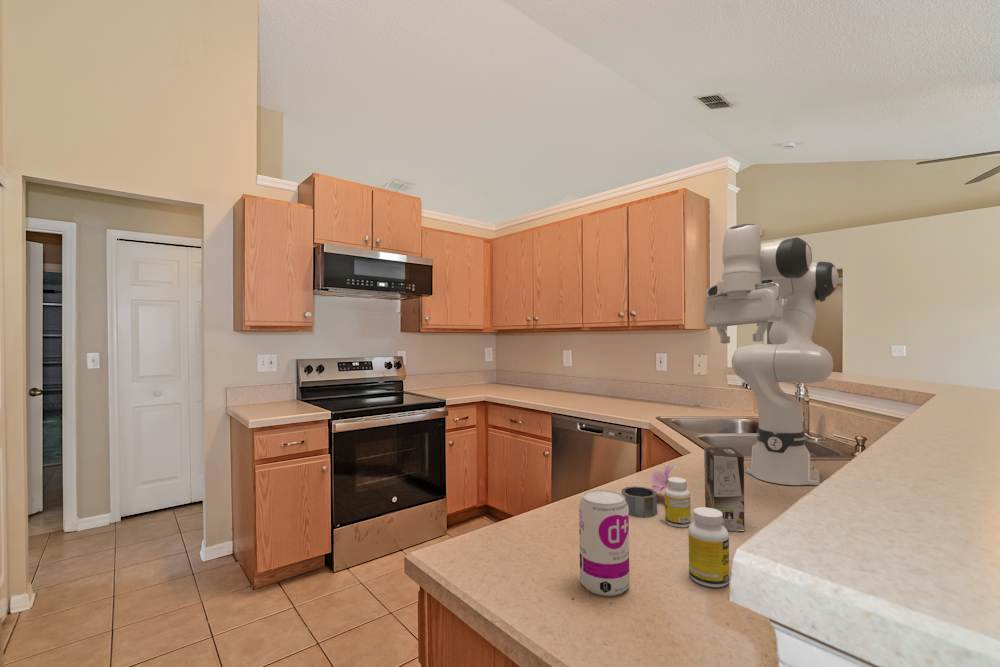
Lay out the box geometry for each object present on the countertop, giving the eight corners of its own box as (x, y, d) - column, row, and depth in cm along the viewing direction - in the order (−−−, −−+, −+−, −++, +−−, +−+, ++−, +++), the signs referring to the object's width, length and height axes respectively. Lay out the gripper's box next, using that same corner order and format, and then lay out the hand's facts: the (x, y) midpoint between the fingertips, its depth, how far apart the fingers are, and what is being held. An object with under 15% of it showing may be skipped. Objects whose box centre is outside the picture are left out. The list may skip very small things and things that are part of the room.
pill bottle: (722, 593, 78) (721, 522, 78) (682, 580, 82) (681, 512, 82) (735, 578, 82) (734, 511, 82) (697, 566, 87) (696, 502, 87)
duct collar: (632, 502, 120) (632, 484, 120) (662, 510, 114) (662, 491, 114) (615, 511, 114) (615, 492, 114) (646, 519, 109) (646, 500, 109)
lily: (655, 492, 130) (638, 463, 130) (697, 482, 124) (679, 451, 124) (648, 521, 120) (629, 489, 120) (693, 511, 114) (674, 478, 113)
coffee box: (746, 532, 101) (745, 456, 101) (713, 530, 103) (712, 455, 103) (734, 516, 110) (733, 446, 110) (704, 514, 112) (703, 445, 112)
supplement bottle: (669, 516, 110) (668, 474, 111) (693, 521, 107) (692, 478, 107) (662, 524, 106) (661, 480, 106) (687, 530, 103) (686, 484, 103)
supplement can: (639, 593, 78) (638, 501, 78) (594, 601, 76) (592, 507, 76) (613, 570, 86) (612, 486, 86) (572, 577, 83) (571, 491, 84)
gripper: (789, 282, 111) (789, 341, 110) (717, 294, 130) (717, 345, 128) (770, 278, 108) (770, 338, 107) (700, 291, 127) (699, 343, 126)
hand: (740, 342), depth 118 cm, fingers open, 8 cm apart
